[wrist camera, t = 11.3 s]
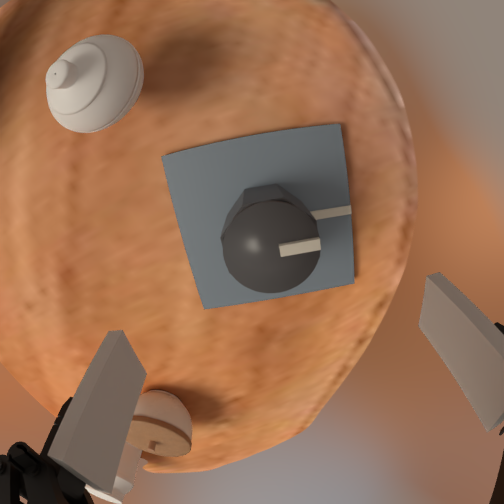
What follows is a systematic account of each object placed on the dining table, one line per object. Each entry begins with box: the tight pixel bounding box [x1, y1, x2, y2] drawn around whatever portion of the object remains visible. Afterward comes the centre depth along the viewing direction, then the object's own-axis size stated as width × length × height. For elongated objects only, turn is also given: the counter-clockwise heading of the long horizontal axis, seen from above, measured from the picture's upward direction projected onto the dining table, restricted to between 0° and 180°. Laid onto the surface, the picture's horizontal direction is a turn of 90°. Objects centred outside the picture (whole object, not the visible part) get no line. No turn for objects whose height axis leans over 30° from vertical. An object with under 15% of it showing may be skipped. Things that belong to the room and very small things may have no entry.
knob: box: [220, 184, 321, 293], centre depth 22 cm, size 7×7×7 cm
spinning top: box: [46, 35, 144, 133], centre depth 16 cm, size 8×8×12 cm
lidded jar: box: [126, 390, 192, 457], centre depth 33 cm, size 11×11×9 cm
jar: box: [85, 441, 142, 504], centre depth 38 cm, size 12×10×15 cm
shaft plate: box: [161, 124, 354, 309], centre depth 24 cm, size 16×16×6 cm
